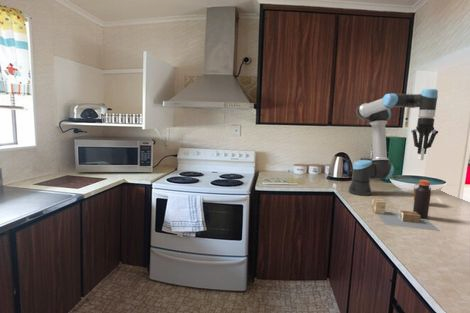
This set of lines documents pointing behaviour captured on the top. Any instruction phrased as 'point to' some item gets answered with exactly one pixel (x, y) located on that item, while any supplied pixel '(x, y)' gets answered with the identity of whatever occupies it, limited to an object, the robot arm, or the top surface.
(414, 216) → the walnut block
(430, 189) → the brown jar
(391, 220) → the mat
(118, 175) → the top surface
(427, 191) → the vinegar
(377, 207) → the oak block
